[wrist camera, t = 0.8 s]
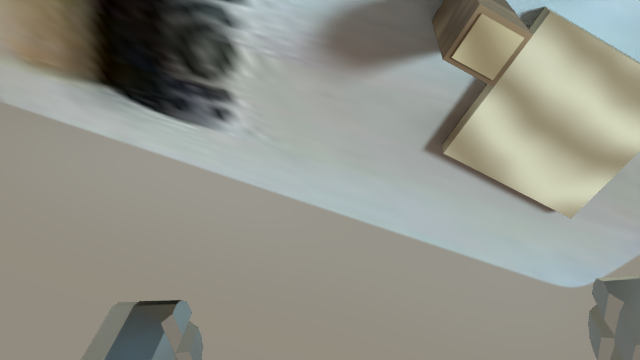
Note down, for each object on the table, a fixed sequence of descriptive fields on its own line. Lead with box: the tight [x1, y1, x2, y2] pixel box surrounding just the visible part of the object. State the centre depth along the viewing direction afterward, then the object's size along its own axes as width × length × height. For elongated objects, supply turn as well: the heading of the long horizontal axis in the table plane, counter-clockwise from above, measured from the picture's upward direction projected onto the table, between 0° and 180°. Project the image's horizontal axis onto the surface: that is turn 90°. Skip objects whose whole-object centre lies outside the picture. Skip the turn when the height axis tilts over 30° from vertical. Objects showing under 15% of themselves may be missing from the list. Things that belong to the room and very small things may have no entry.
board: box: [442, 7, 640, 218], centre depth 44 cm, size 14×14×2 cm
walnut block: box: [432, 0, 533, 87], centre depth 37 cm, size 4×4×9 cm
